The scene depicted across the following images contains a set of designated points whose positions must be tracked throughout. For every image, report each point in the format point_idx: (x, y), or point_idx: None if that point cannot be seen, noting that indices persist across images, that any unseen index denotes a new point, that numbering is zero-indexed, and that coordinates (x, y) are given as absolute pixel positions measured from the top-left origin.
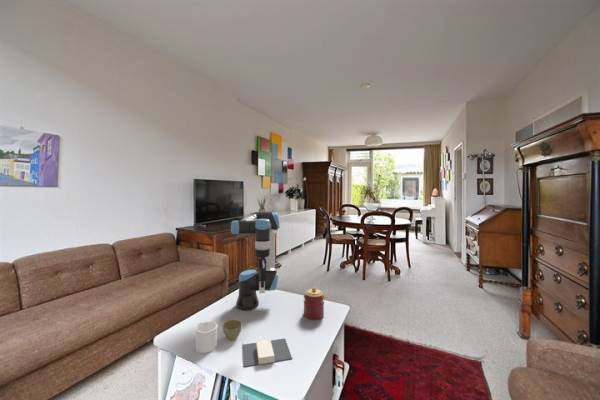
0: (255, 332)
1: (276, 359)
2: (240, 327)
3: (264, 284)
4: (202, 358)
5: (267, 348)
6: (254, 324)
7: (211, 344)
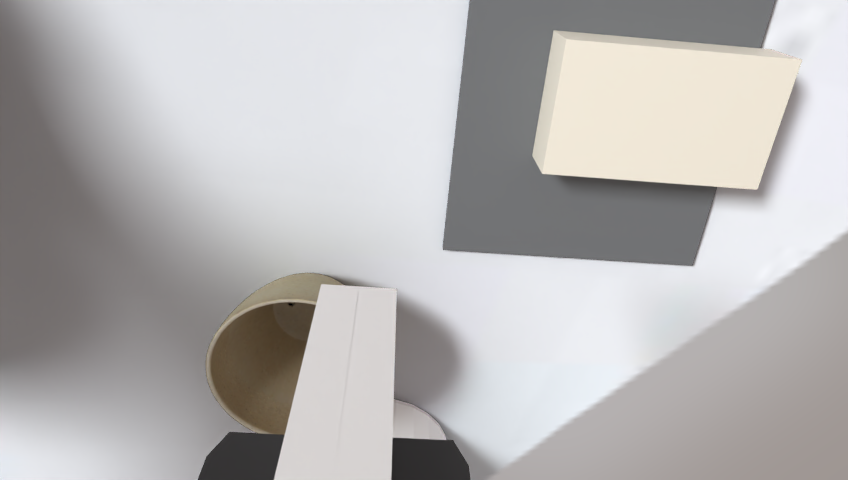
0: (280, 119)
1: (750, 21)
2: None
3: (388, 475)
4: (490, 463)
5: (678, 97)
6: (128, 105)
7: None
